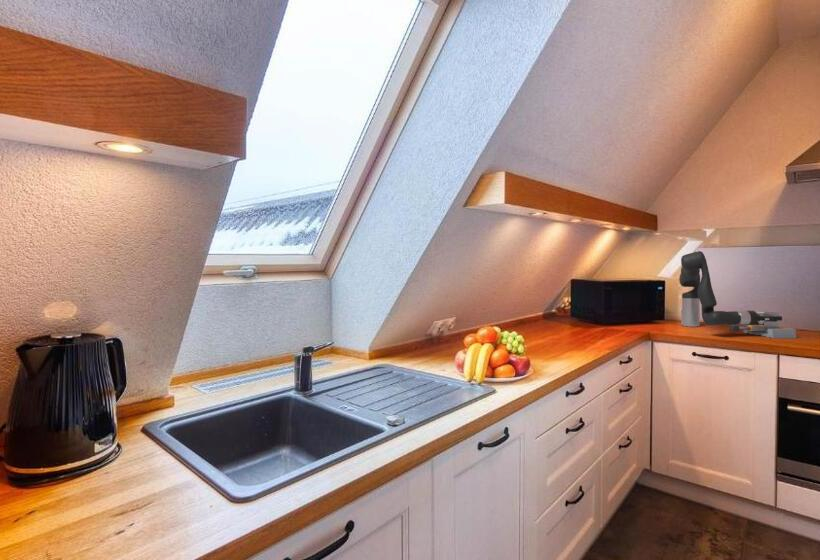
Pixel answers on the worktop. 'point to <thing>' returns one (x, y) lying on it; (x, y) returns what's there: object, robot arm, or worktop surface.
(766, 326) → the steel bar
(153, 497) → the worktop surface
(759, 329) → the vise jaw
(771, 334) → the vise
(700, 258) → the robot arm
